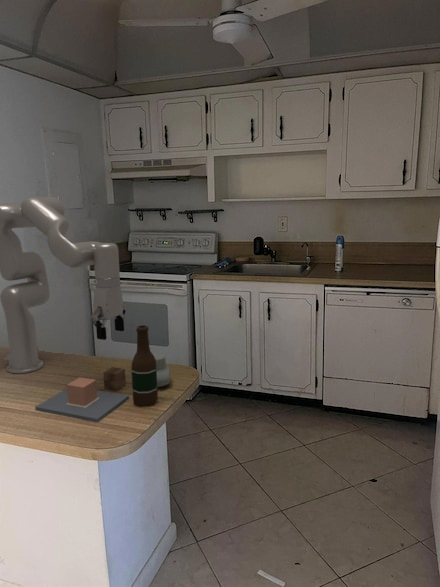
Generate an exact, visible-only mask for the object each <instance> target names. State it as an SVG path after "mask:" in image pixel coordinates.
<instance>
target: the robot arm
mask: <svg viewBox="0 0 440 587" xmlns="http://www.w3.org/2000/svg"><path fill="white" fill-rule="evenodd" d="M64 215H65V206H64V204H63V203H62V202H61V201H60V199H58V198H56V197H54V196H29V197H27V198H25V199H24V200H22V202H21V203H17V202H14V203H13V202H12V203H0V275H1V277H2V278H3V279H4V280H5V281H7V282H8V281H9V282H10V281H11V282H12V281H20V280H24V279H26V280H27V281H25V282H20V283H14V284H11V285H8V286H6V287H4V288H3V289H2V290H1V293H0V303H1V307H2V309H3V310H2V311H3V312H4V317H5V324H6V331H7V341H8V349H9V350H8V351H9V353H7V354H6V356H5V357H4V358H3V359H4V361H6V362H8V364H7V366H6V371H7V372H8V373H11V374H26V373H32V372H35V371H37V370H40V369H41V368H43V367H44V361H43V360H42V359H39V352H38V350H39V349H38V342H37V341H38V340H37V330H36V321H35V318H34V316H33V314H32V313H31V311H29V309H31V308H34V307H35V308H36V307H39V306H42V305H44V304H46V303H47V302H48V301H49V299H50V292H51V291H50V285H49V281H48V275H47V274H48V273H47V269H46V265H45V261H44V260H43V258H42V256H41V254H40V255H39V254H38V253H37V252H35V251H25V252H24V251H23V248H22V244H21V243H22V242H21V240H20V238H19V236H18V235H17V233H15V231H14V230H12V229H21V228H22V229H23V228H34V227H35V228H36V229H37V230H39V231H40V232H41V233H42V234H43V235H44V236H46V237H47V238H46V240H47V245H48V246H47V247H48V248H49V250H50V252H51V254H52V255H53V256H54V257H55V258H56V259H57V260H58V261H60V262H61V263H62V264H64V265H65V266H67V267H68V268H73V269H75V268H81V267H88V266H93V265H94V279H95V280H94V283H95V288H94V290H93V307H92V308H93V313H92V314H91V315H90V318H91V321H92V324H93V325H94V327H95V328H96V338H97V340H103V341H106V340H107V327H105V326H106V323H107V321H109V320H111V319H114V330H115V331H118V332H124V331H125V317H126V316H125V314H126V308H127V304H126V303H125V302H124V301H123V292H122V288H121V279H120V278H121V277H120V275H121V274H120V257H119V256H120V255H119V247H118V245H117V243H113V242H100V241H97V240H96V241H93V240H92V241H91V240H90V241H83V242H71V241H69V240H68V238H66V237H65V235H66V234H67V232H68V230H69V226H70V223H69V220H68V219H67V218H66V217H65V216H64Z"/></svg>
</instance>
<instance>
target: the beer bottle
mask: <svg viewBox="0 0 440 587" xmlns="http://www.w3.org/2000/svg"><path fill="white" fill-rule="evenodd" d="M135 330H136V333H137V334H136V335H137V336H136V351H135V354H134V356H133V358H132V362H131V386H132V400H133V401H132V402H133V404H134V405H136V406H138V407H140V408H141V407H144V408H145V407H151V406H153V405H155V404H157V402H158V388H157V369H156V360H155V357H154V355H153V354H154V353H152V352H151V348H150V340H149V326H147V325H138V326H136V329H135Z"/></svg>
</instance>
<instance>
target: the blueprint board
mask: <svg viewBox="0 0 440 587" xmlns="http://www.w3.org/2000/svg"><path fill="white" fill-rule="evenodd" d="M129 397H130V396H129V395H126V394H121V393H113V392H109V391H104V390H103V391H102V390H97V399H95V400H94V401H92V402H91V403H89V404H88V405H86V406H80V405H74V404H69V403H68V392H67V388H65V389H63V390H62V391H60V392H58V393H57V394H55V395H53V396H50V398H47V399H46V400H44V401H43V402H41V403H39V404H37V405H36V406H35V407H34V409H35V411H40V412H43V413H49V414H54V415H59V416H65V417H69V418H74V419H79V420H85V421H89V422H94V423H99V422H100V421H101V420H103V419H104V418H106V417H107V416H108V415H110V413H112V412H113V411H116V409H117V408H118V407H120V406H122V405H123V404H124V403H125V402H127V401H128V400H129V399H130V398H129Z"/></svg>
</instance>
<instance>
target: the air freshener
mask: <svg viewBox="0 0 440 587" xmlns="http://www.w3.org/2000/svg"><path fill="white" fill-rule="evenodd" d="M152 354H153V355H154V357H155V360H156V369H157V389H158V388H162V387H165V386H167V385H169V384H170V383H171V376H170V375H171V372H170V369H171V368H170V367H168V366H167V365H166V361H167V360H166V355H165V354H163V353H152Z"/></svg>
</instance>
